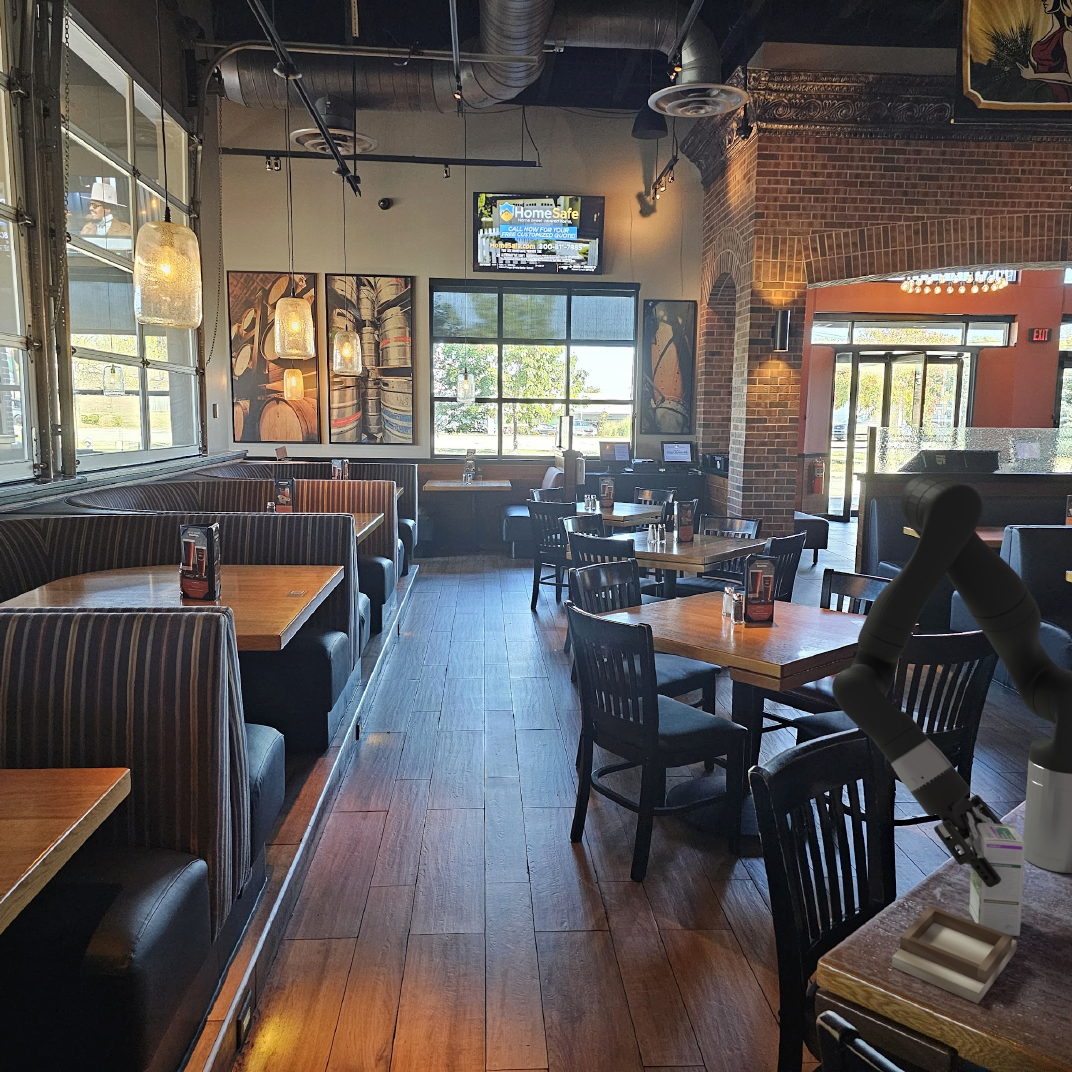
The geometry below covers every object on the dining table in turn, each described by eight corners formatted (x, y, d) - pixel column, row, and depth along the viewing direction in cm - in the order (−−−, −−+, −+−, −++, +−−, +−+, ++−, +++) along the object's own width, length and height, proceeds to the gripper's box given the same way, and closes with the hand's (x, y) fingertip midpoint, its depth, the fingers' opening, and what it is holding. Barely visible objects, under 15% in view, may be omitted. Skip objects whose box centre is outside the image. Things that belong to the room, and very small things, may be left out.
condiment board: (935, 919, 129) (936, 899, 128) (1016, 950, 121) (1017, 928, 121) (891, 966, 118) (893, 943, 117) (977, 1003, 110) (979, 979, 110)
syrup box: (1021, 937, 125) (1028, 842, 123) (977, 932, 126) (983, 838, 124) (1008, 915, 130) (1015, 824, 128) (966, 911, 131) (972, 820, 130)
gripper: (930, 778, 126) (1011, 881, 119) (964, 752, 136) (1040, 846, 129) (892, 801, 130) (968, 902, 123) (928, 775, 140) (999, 867, 133)
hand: (1005, 873), depth 126 cm, fingers open, 8 cm apart
